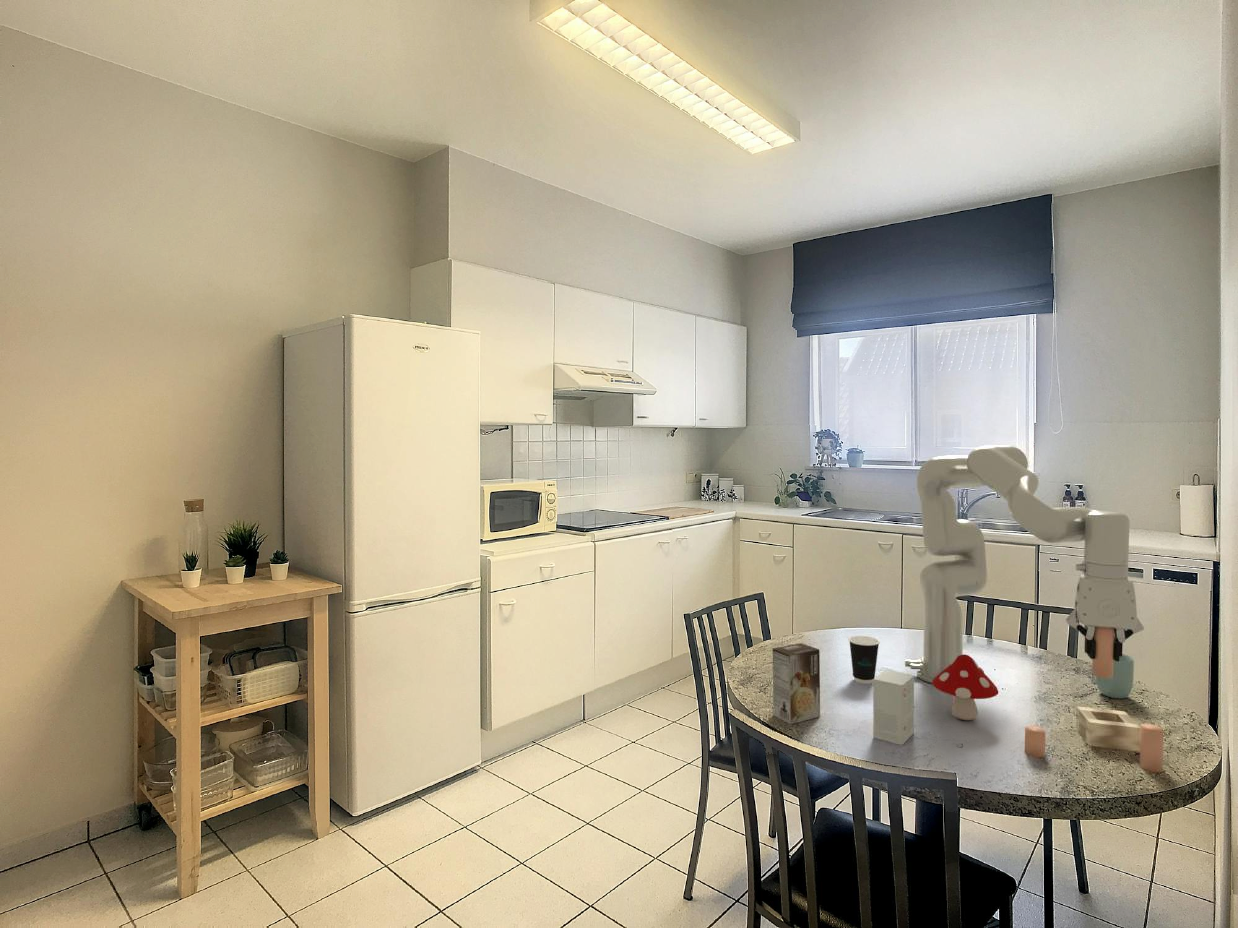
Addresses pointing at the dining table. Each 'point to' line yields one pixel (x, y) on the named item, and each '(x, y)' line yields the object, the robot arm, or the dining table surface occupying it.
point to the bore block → (1108, 729)
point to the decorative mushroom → (965, 686)
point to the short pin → (1035, 741)
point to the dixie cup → (864, 658)
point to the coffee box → (796, 683)
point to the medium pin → (1151, 748)
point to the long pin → (1103, 652)
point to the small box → (893, 706)
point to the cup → (1118, 679)
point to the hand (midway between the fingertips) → (1102, 657)
